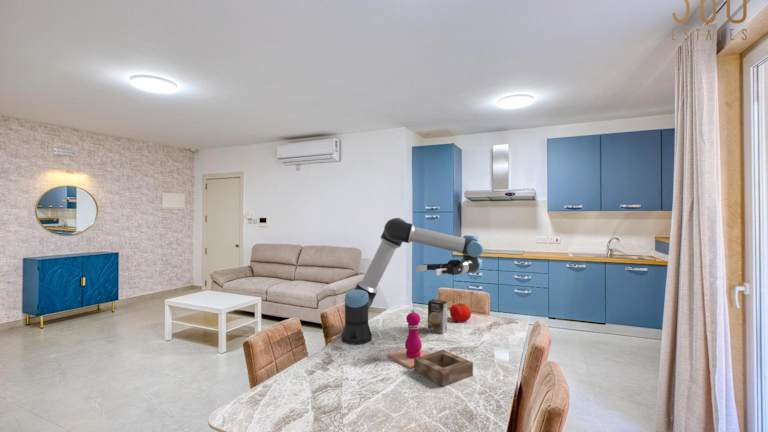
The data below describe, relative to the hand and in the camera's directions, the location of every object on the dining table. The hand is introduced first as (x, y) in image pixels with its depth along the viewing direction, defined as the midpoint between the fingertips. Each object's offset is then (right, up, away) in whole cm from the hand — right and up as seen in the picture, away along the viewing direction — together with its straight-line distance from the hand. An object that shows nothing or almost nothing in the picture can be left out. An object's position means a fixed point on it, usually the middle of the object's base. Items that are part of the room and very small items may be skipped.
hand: (425, 270), depth 164 cm
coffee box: (+9, -36, +24) cm, 44 cm away
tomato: (+25, -37, +43) cm, 61 cm away
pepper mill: (-7, -35, -12) cm, 38 cm away
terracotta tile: (-7, -36, -12) cm, 39 cm away
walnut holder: (+3, -36, -27) cm, 45 cm away
